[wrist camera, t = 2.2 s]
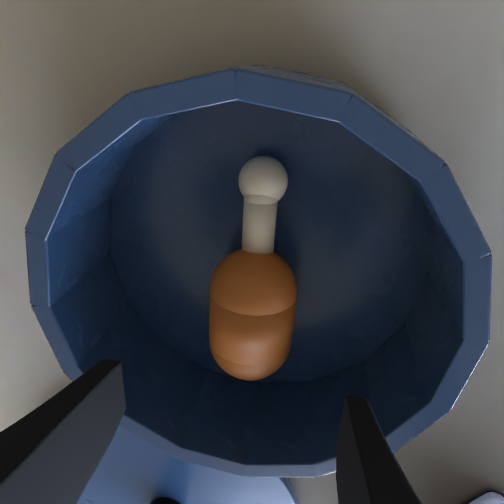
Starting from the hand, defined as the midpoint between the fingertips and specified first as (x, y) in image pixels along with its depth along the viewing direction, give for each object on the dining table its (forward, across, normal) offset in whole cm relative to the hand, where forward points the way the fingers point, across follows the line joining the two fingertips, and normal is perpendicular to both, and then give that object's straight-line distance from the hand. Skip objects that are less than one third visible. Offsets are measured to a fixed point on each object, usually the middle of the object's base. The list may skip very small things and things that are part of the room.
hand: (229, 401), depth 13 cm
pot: (+7, 0, -2) cm, 7 cm away
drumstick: (+7, 0, -2) cm, 7 cm away
